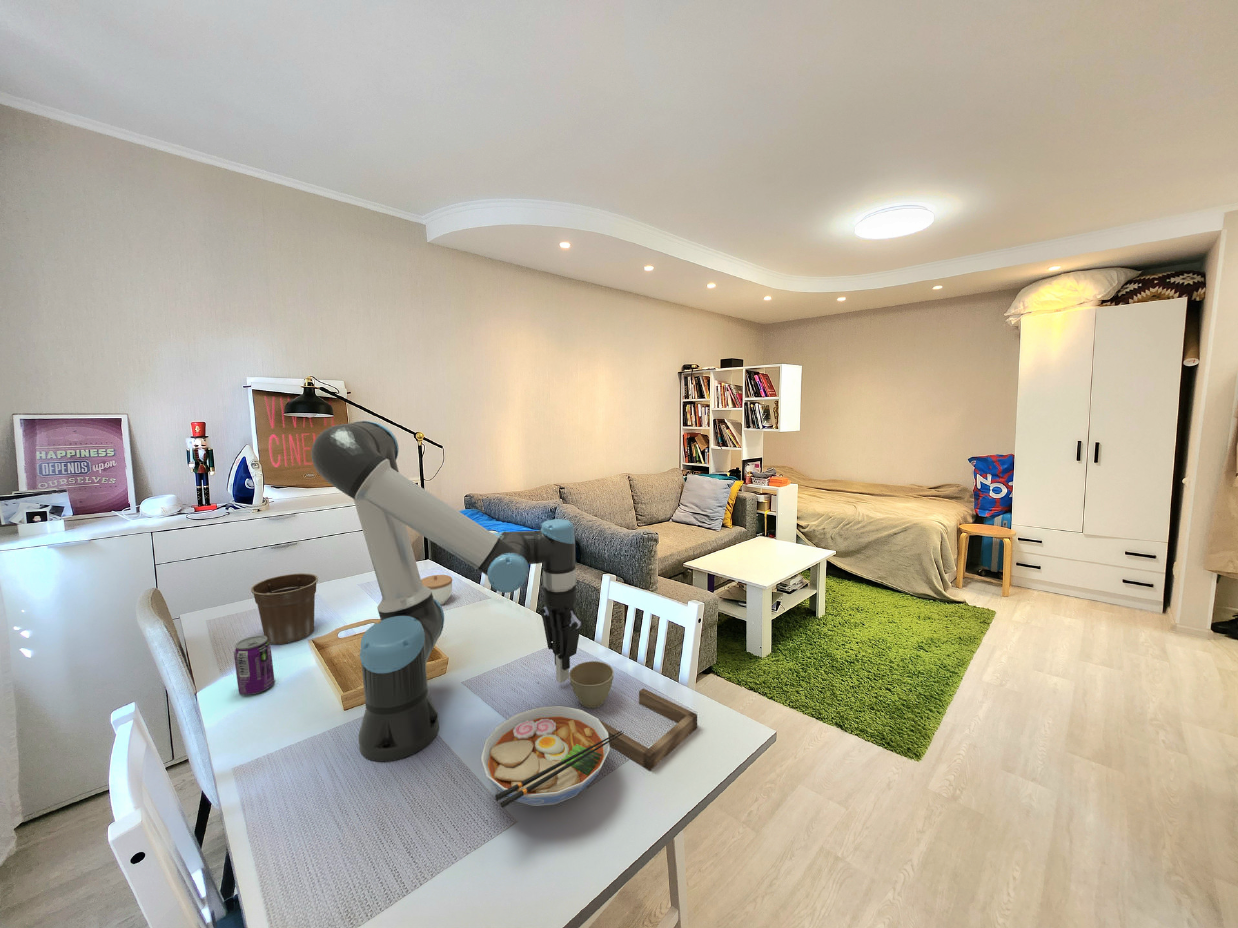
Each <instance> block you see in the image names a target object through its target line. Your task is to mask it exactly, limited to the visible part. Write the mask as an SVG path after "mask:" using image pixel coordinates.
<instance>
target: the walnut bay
mask: <svg viewBox="0 0 1238 928" xmlns="http://www.w3.org/2000/svg"><path fill="white" fill-rule="evenodd" d="M638 704H639V705H641V706H643V707H644V708H645V707H646V708H647V709H649V710H651V711H653V712H655V713H657V714H659V715H661V716H662V717H664V718H667V719H669V720H670V721H672V722H674V723H676V724H675V725H673V727H671V728H670V729H669V730H668V731H667V732H666V733H665V734H664V735H662V736H661V737H660V738H658V739H657V740H656V741H654V743H653V744H652V745H651V746H649V747H647V746H646V745H643V744H642V743H640V742H638V741H636V740H635V739H633V738H631V737H630V736H628V735H626V734H625V733H623V734H622V735H620V736H618V735H619V734H621V733H622V732H620V731H621V730H618V729H616V728H615V727H612V726H611V725H609V724H608V723H607V722H604V721H603V720H601V719H599V721H600V722H601V723H602V725H603V726H604V727H605V729H606V730H607V732H608V735H609V737H610V736H612V735H614V734H616V733H618V732H620V733H619V734H617V735H615V736H613V737H611V738H610V739H609V740H611V739H612V738H614V737H616V736H618V737H617V738H615V739H614V740H612V741H610V742H609V744H610V748H612V749H614V750H615V751H617V752H618V753H620V754H622V755H623V756H625V757H627V758H628V759H630V760H631V761H632V762H634V763H636V764H638V765H640V766H641V767H643V768H644V769H645V770H647V771H652V769H654V768H655V767H656V766H657V765H658V764H659V763H661V761H663V760H664V759H665V758H666V757H667V756H668V755H669V754H670V753H671V752H672V751H674V750H675V749H676V748H677V747H678V746H680V744H681V743H682V742H684V741H685V740H686V738H688V737H689V736H690V735H691V734H692V733H694V732H695V731H696V730H697V729H698V714H697V713H695V712H693V711H691V710H689V709H687V708H685V707H682V706H680V705H679V704H677V703H674V702H672V701H671V700H668V699H666V698H664V697H662V696H661V695H658V694H656V693H654V692H652V691H650V690H648V689H646V688H644V687H643V688H642V689H640V690H638Z"/></svg>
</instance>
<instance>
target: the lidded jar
mask: <svg viewBox="0 0 1238 928" xmlns="http://www.w3.org/2000/svg"><path fill="white" fill-rule="evenodd" d="M421 582H422V585H423V586H426V587H428V588H430V589H431V591H432V595H433V598H434V599H436V600H437V601H438V602H439V603H440V605H441V606H442V605H443V604H446V602H447V601H448V599H449V598H450V596H451V594H452V593H453V592H452V591H453V577H452V576H450V575H448V574H435V575H429V576H426V577H423V578H421Z"/></svg>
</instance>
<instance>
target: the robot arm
mask: <svg viewBox="0 0 1238 928" xmlns="http://www.w3.org/2000/svg"><path fill="white" fill-rule="evenodd" d="M313 441H314V442H313V444H312V448H311V453H310V455H311V460H312V463H313V464H312V465H313V467H314V468H315V471H317V473H318V475H320V476H321V478H322V479H324V480H325V481H326V482H327V483H328V484H330V485H332V486H333V487H334V488H335V489H337V490H338V491H340V492H342V493H343V494H344V495H347V496H348V497H349V498H351V499H352V500H353V502H354V505H355V509H356V512H357V515H358V520H359V523H360V526H361V530H362V533H363V536H364V540H365V543H366V546H367V550H368V553H369V556H370V560H371V563H372V566H373V567H372V568H373V571H374V573H375V577H376V580H377V584H378V587H379V591H380V594H381V600H380V602H379V604H378V605H377V612H378V615H379V619H380V621H379V622H376V623H374V624H372V625H371V626H370V627H369V628H368V629H367V630H366V631H365V632H364V633H363V635H362V637H361V640H360V649H359V651H360V653H359V659H360V663H361V664H360V665H361V671H362V673H361V674H362V683H363V692H364V693H363V695H364V701H365V702H364V703H365V711H364V713H363V714H364V715H363V718H362V722H361V726H360V728H359V732H358V746H359V748H358V749H359V752H360V754H361V755H362V756H363V757H365V758H367V759H368V760H370V761H371V760H372V761H375V762H376V761H377V762H390V761H397V760H400V759H403V758H406V757H410V756H412V755H414V754H416V753H418V752H419V751H422V749H425V748H426V747H427V746H428V745H430V744H431V742H433V740H435V738H436V736H437V735H438V732H439V731H440V730H439V729H440V721H439V720H440V718H439V714H438V711H437V709H436V707H435V705H434V702H433V701H432V699H431V696H430V694H429V692H428V678H427V677H428V676H427V662H428V660H429V658H430V655H431V653H432V651H433V650H434V648H435V646H436V644H437V642H438V641H439V638H440V636H441V635H442V632H443V629H444V624H445V612H444V609H443V607H442V604H441V605H440V603H439V602H438V601H437V600H436V599H434V598H433V595H432V591H431V589H430V588H428V587H426V586H423V585H422V582H421V579H422V578H421V576H420V571H419V568H418V565H417V561H416V558H415V554H414V549H413V546H412V543H411V538H410V536H409V531H408V528H410V529H412V530H413V531H415V532H417V533H418V534H420V535H422V536H423V537H424V538H426V539H428V540H429V541H431V542H432V543H434V544H436V545H437V546H439V547H441V549H444V550H446V551H447V552H449V553H450V554H452V555H453V556H455V557H457V559H460V560H462V561H463V562H465V563H466V564H468V565H469V566H471V567H472V568H475V569H476V570H478V571H479V572H480V573H482V574H484V576H487V580H488V582H489V584H490V586H491V587H492V588H493V589H494V590H495V591H497V592H499V593H504V594H505V593H506V594H507V593H508V594H509V593H513V592H515V591H518V590H519V589H521V587H522V586H524V583H525V582H526V578H527V577H528V574H529V568H530V567H529V565H534V564H535V565H537V564H539V565H540V564H542V575H543V576H542V577H543V581H542V582H543V583H542V585H543V587H544V588H543V602H544V604H545V606H544V607H543V608H540V609H539V614H540V616H541V618H542V623H543V628H544V633H545V634H544V635H545V638H546V643H547V644H546V645H547V649H548V650H552V653H553V655H554V665H555V670H556V671H555V672H556V673H555V675H556V679H555V680H556V682H558V683H559V684H562V683H563V682H565V681H567V680H570V676H569V673H570V668H571V657H573V656H574V655H576V654H577V650H578V643H579V639H580V633H581V628H582V627H583V625H584V620H583V619H578V618H577V616H576V610H575V603H576V602H577V586H576V584H577V581H576V580H577V579H576V578H577V577H576V536H575V526H574V524H573V522H571V521H570V520H568V519H563V518H562V519H561V518H558V519H557V518H556V519H548V520H545V521H544V522H542V524H541V528H540V529H538V530H523V531H520V530H519V531H505V530H504V531H501V532H500V531H499V532H491V531H490V530H488V529H487V528H485V527H484V526H482V525H480V524H479V523H477V522H476V521H474V520H473V519H471V518H470V517H468V516H466V515H465V514H463V513H462V512H460V511H458V510H457V509H456V508H454V507H453V506H452V505H449V504H448V503H447V502H445V501H443V500H441V499H440V498H439V497H438V496H435V495H434V494H432V493H430V492H429V491H428V490H426V489H425V488H423V487H422V486H420V485H418V484H417V483H415V482H414V481H413V480H411V479H410V478H408V477H406V476H405V475H403V474H402V473H400V471H399V466H398V465H397V459H398V457H399V443H398V439H397V438H396V436H395V434H394V433H393V432H392V431H391V430H390V429H389V428H388V427H386V426H385V425H384V424H380V423H378V422H374V421H367V420H362V421H361V420H360V421H355V422H350V423H341V424H336V425H332V426H329V427H328V428H326V429H324V430H323V431H321V432H320V433H319V434H318V436H317V437H316V438H315V439H314V440H313ZM407 527H408V528H407Z"/></svg>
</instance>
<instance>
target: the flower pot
mask: <svg viewBox="0 0 1238 928" xmlns="http://www.w3.org/2000/svg"><path fill="white" fill-rule="evenodd" d="M614 672H615V671H614V669H613V667H612V666H611V665H610V664H608V663H605V662H603V661H597V660H595V661H593V660H591V661H585V662H581V663H579V664H577V665H575V666H573V667H572V668H571V669H570V670H569V682H570V684H571V688H572V690H573V693H574V695H575V697H576V699H577V700H578V702H579V703H581V705H582V706H583V707H585V708H587V709H596V708H599V707H601V706H602V705H603V704H604V703H605V702H606V699H607V698H608V695H609V693H610V691H611V688H612V684H613V680H614V674H615V673H614Z"/></svg>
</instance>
